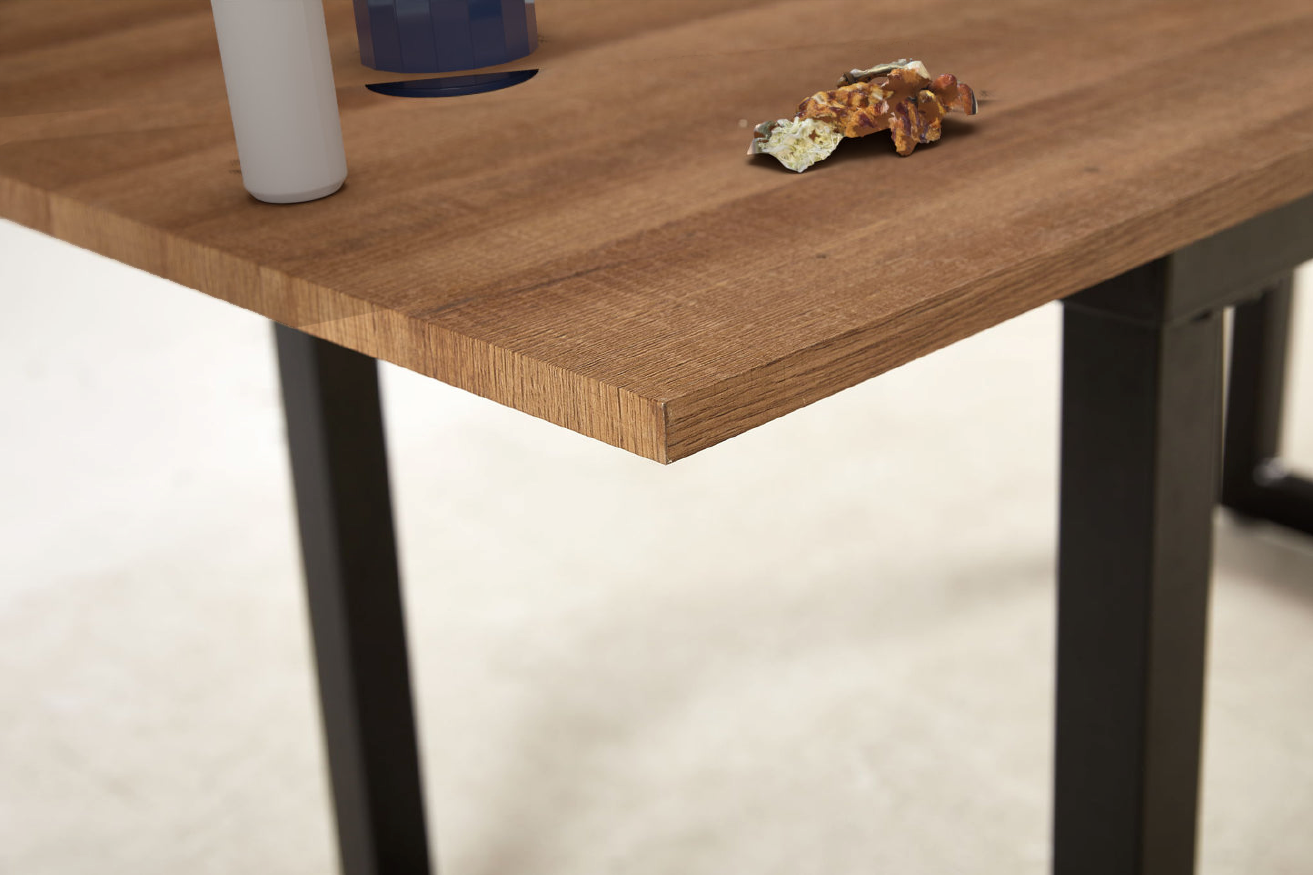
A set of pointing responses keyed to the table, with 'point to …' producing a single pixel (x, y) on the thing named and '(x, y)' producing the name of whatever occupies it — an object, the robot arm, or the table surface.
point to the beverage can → (281, 97)
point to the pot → (445, 43)
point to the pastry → (866, 113)
